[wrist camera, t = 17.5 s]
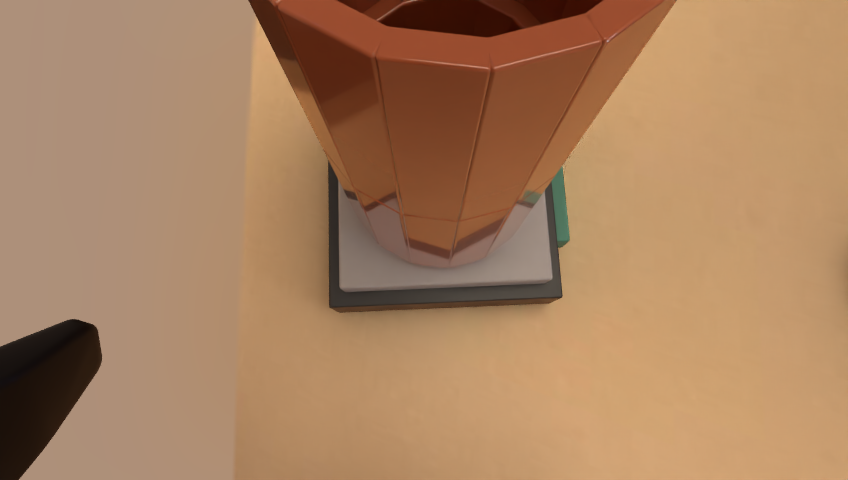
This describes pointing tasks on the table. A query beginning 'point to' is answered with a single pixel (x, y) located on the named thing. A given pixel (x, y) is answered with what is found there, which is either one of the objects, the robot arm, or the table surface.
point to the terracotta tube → (452, 105)
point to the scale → (448, 287)
